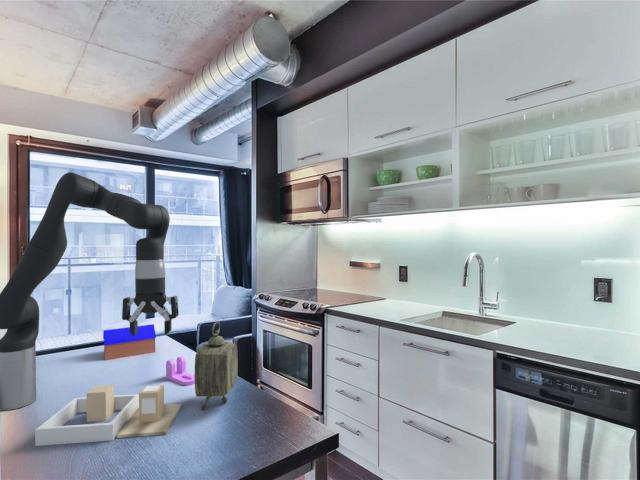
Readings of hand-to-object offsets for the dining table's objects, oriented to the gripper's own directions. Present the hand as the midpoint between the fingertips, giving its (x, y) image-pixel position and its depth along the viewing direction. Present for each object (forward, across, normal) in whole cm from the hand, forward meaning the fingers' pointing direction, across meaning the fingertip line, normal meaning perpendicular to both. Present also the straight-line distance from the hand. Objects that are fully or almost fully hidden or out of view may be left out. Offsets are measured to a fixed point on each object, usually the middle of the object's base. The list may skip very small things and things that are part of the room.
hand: (151, 334), depth 101 cm
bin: (+24, -16, 0) cm, 29 cm away
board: (+24, 0, 0) cm, 24 cm away
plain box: (+24, -16, +4) cm, 29 cm away
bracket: (+24, +1, +29) cm, 38 cm away
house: (+25, -31, +66) cm, 77 cm away
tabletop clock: (+24, +16, +9) cm, 31 cm away
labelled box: (+23, 0, 0) cm, 23 cm away
